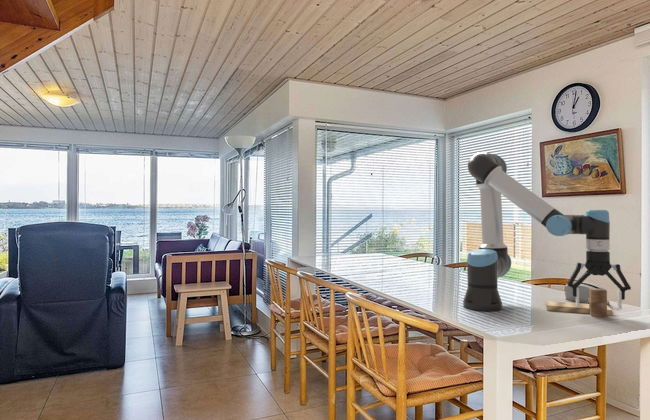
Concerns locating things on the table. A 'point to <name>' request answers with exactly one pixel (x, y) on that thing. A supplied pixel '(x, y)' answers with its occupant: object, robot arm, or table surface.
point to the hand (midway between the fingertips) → (598, 306)
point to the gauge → (597, 302)
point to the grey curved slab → (581, 292)
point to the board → (570, 307)
